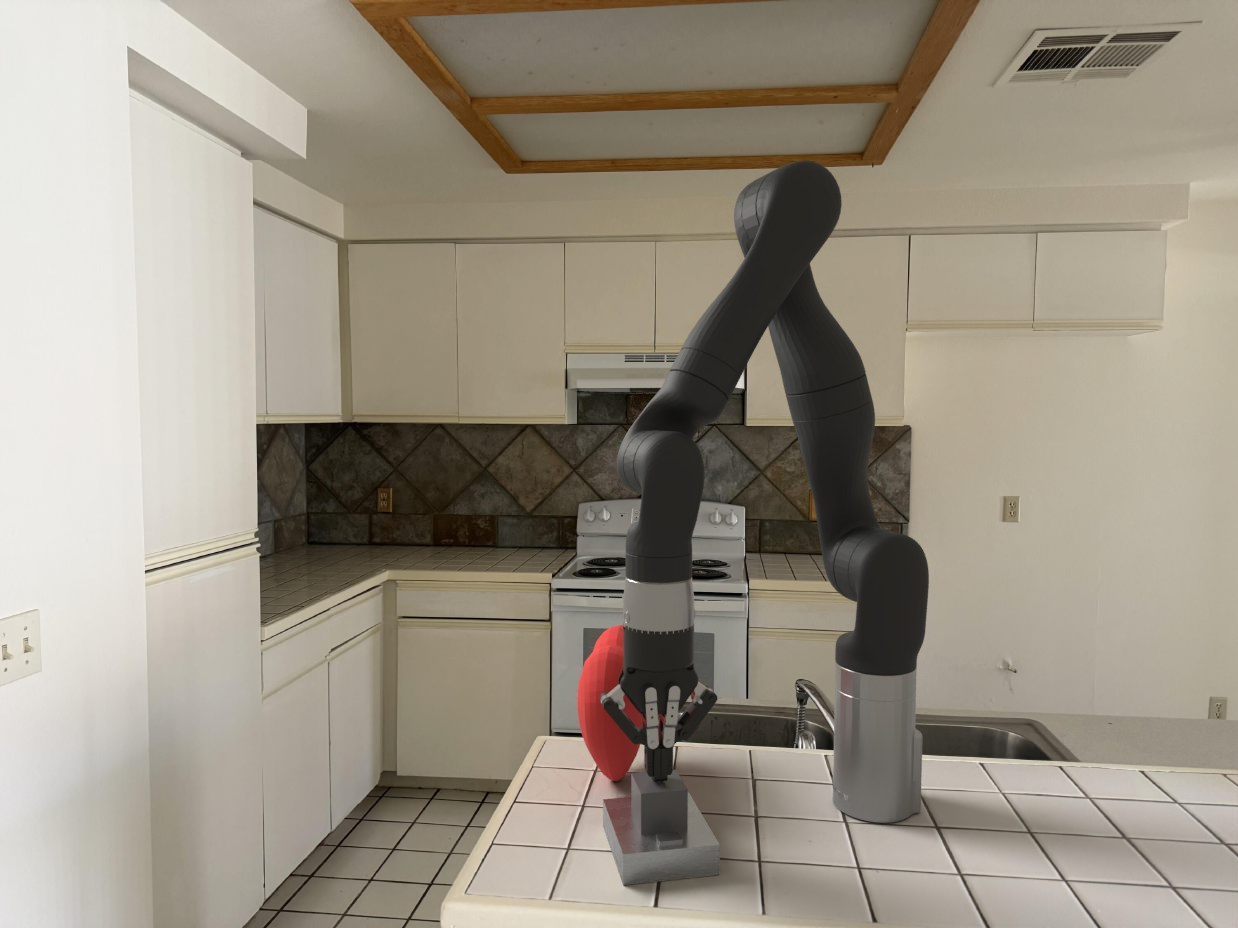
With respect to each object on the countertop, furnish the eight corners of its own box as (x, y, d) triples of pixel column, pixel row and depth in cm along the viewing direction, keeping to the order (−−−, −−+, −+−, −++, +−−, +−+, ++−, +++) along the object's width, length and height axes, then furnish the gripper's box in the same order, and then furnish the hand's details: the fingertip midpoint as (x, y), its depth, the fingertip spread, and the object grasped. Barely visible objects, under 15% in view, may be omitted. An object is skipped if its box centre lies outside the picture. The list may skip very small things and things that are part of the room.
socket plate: (688, 818, 98) (688, 785, 98) (719, 874, 86) (719, 837, 86) (603, 826, 96) (603, 793, 96) (623, 884, 85) (623, 847, 84)
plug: (675, 833, 94) (675, 769, 94) (687, 857, 89) (687, 789, 89) (631, 838, 93) (631, 773, 93) (641, 862, 88) (641, 793, 88)
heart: (640, 820, 98) (640, 660, 96) (566, 815, 99) (565, 657, 98) (655, 749, 118) (655, 617, 116) (594, 746, 119) (594, 615, 117)
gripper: (708, 607, 94) (707, 759, 96) (591, 613, 92) (591, 768, 93) (729, 625, 87) (728, 788, 88) (602, 631, 85) (603, 799, 86)
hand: (658, 777), depth 91 cm, fingers closed
